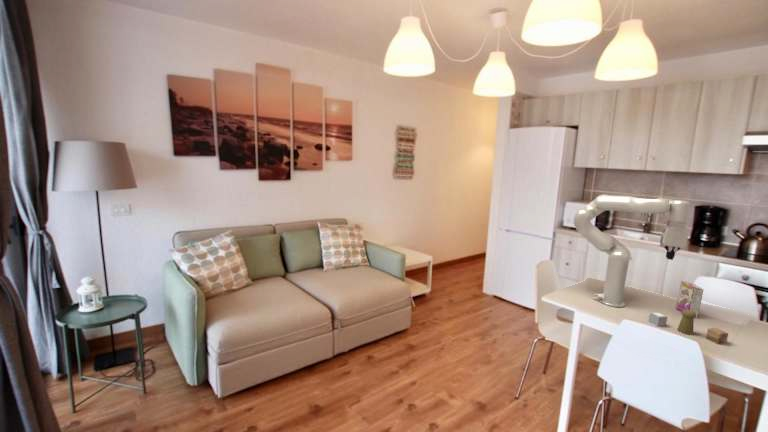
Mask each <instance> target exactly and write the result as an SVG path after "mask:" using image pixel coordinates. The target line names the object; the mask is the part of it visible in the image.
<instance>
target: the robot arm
mask: <svg viewBox="0 0 768 432" xmlns="http://www.w3.org/2000/svg"><path fill="white" fill-rule="evenodd" d="M690 207H691V203H690V201H688V200H681V199H670V198H664V197H658V198H641V197H635V196H630V195H613V194H612V195H611V194H607V193H606V194H605V193H603V194H600V195H598V196H596V197H595V199H593V200H592V201H590V202H589V203H588V204H586V205H585V206H583V207H582V208H579V210H577V211H576V212H575V215H574V217H573V225H574V227H575V229H576V231H577V232H578V233H579V234H580V235H581V236H582V237H583V238H585V239H586V241H588V242H589V243H590V244H591V245H592V246H593V247H594V248H595V249H596V250H598V251H599V252H602V253H603V252H604V253H606V254H607V255H608V259H607V266H606V267H607V268H606V274H605V279H604V286H603V292H600V293H596V292H595V293H593V294H592V297H594V298H597V299H598V301H599V303H601V302H602V303H601V304H603V303H604V305H605V304H606V306H608V305H609V307H612V308H624V307H625V306H626V303H625V302H624V301H623V297H624V293H625V286H626V281H627V275H628V269H629V263H630V260H631V252H630V250H629V249H628V248H627V247H626V246H625V245H624V244H623V243H622V242H620V241H619V240H618V239H617V238H616V237H615V236H614V235H612V234H610V233H607V232H602V231H601V230H600V229H599V228H598V227H597V226H595V225H594V224H593V223H592V222H591V221H592V220H593V219H595V218H596V217H597V216H600V215H601V214H602V213H603V212H606V211H609V212H610V211H613V212H629V213H640V214H653V215H654V214H655V215H664V214H666V213H668V217H667V220H664V221H663V224H665V225H664V227H663V230H662V232H661V236H660V240H659V242H660V243H659V247H661V248H663V249H665V250H666V254H665V257H666V259H667V260H671V261H673V260H674V259H675V256H676V253H677V252H678V251H679V250H685V249H686V247H687V246H688V245H687V244H688V237H689V233H688V232H689V230H688V227H687V222H688V217H689V212H690Z"/></svg>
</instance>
